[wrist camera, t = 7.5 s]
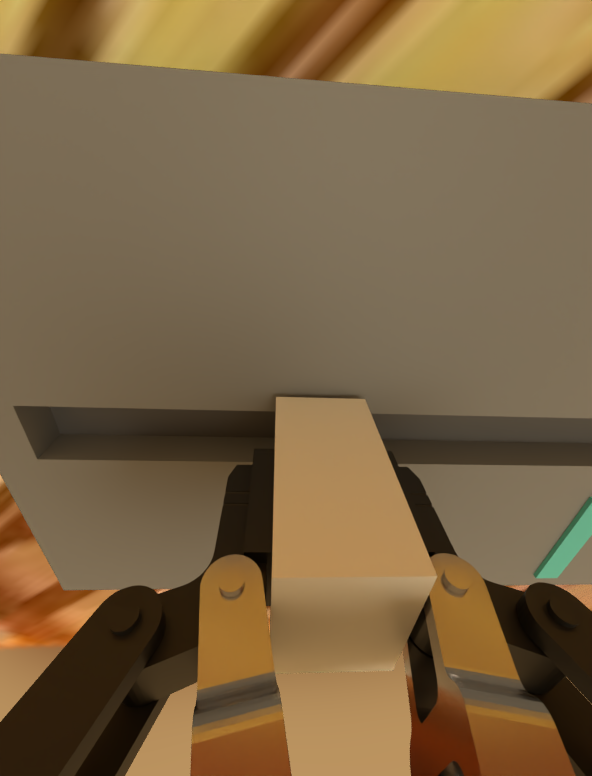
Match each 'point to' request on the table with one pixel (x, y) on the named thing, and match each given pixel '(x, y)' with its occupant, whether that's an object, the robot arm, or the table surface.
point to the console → (289, 305)
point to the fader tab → (340, 543)
